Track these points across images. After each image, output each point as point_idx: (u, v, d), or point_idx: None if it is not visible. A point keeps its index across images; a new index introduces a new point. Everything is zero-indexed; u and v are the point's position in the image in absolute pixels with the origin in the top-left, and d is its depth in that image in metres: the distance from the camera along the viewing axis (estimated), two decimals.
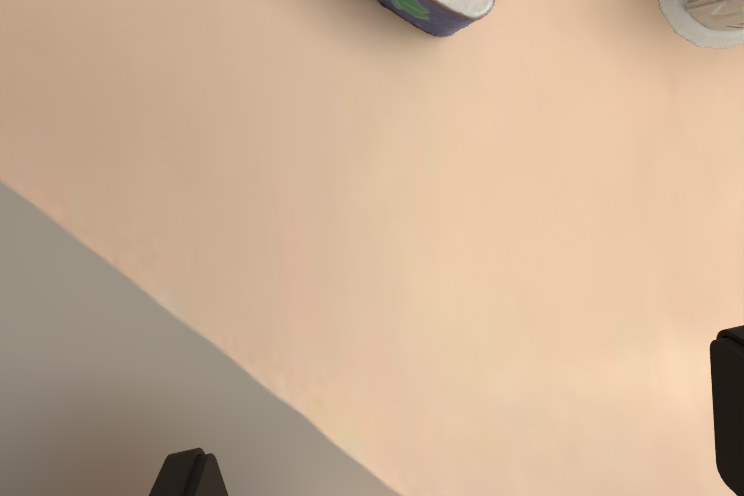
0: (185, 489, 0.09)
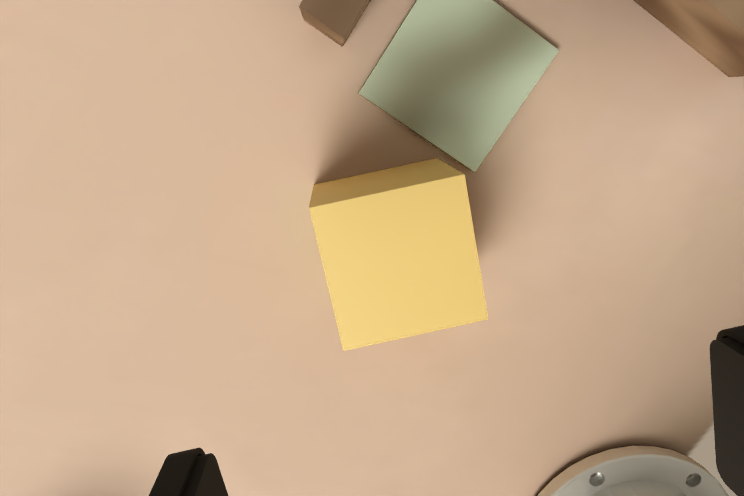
0: (185, 489, 0.09)
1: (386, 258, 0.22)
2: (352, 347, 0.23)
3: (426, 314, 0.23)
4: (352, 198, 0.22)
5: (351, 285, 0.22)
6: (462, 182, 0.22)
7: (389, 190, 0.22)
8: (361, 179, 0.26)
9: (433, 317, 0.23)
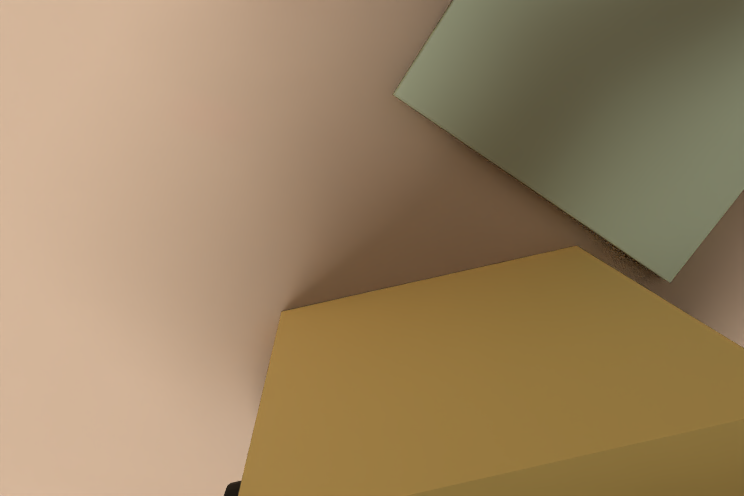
0: None
1: None
2: None
3: None
4: (396, 492, 0.06)
5: None
6: None
7: (537, 460, 0.06)
8: (401, 319, 0.10)
9: None
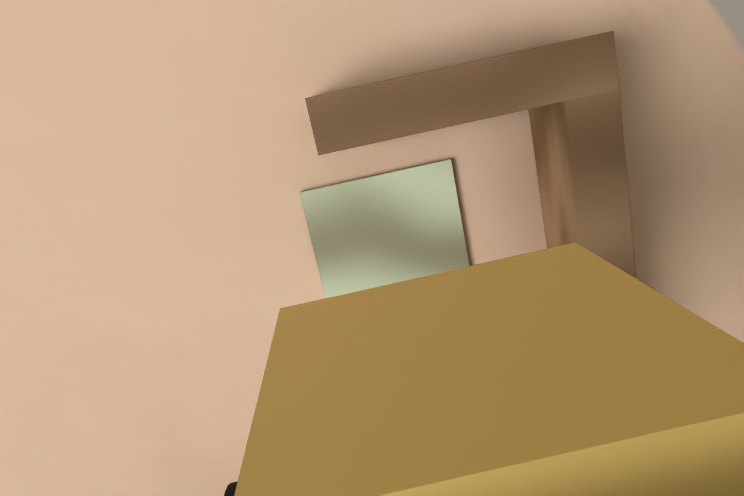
0: None
1: None
2: None
3: None
4: (394, 486, 0.06)
5: None
6: None
7: (536, 454, 0.06)
8: (400, 315, 0.10)
9: None
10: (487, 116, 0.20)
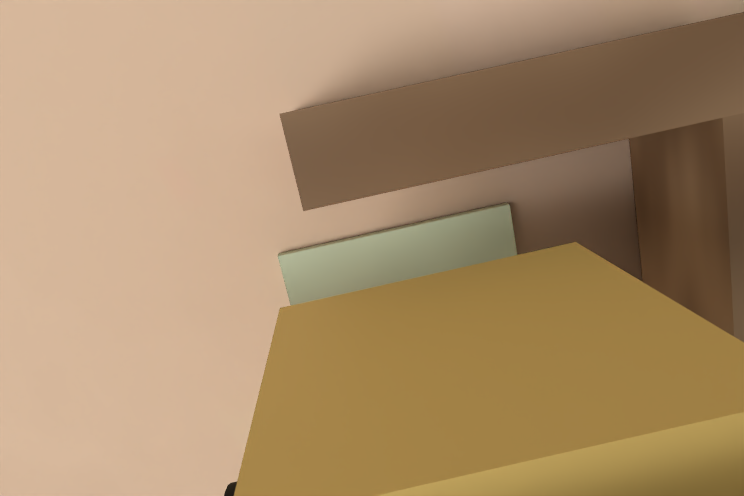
0: None
1: None
2: None
3: None
4: (394, 486, 0.06)
5: None
6: None
7: (536, 454, 0.06)
8: (400, 315, 0.10)
9: None
10: (592, 144, 0.12)
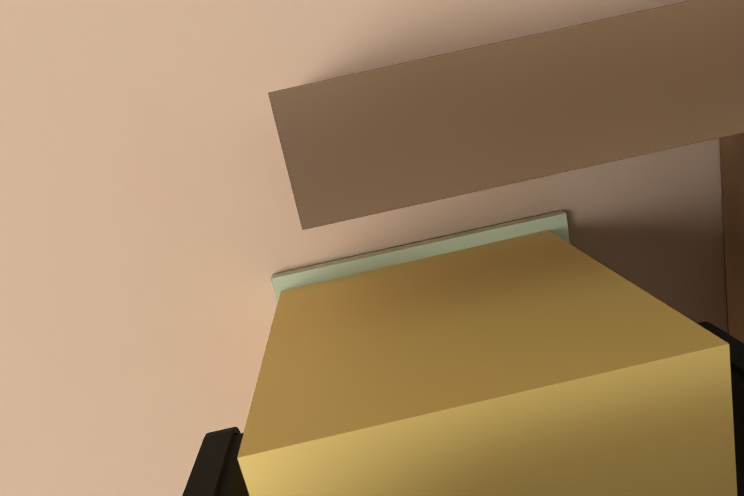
0: (226, 464, 0.09)
1: None
2: None
3: None
4: (374, 422, 0.07)
5: None
6: (719, 367, 0.07)
7: (491, 395, 0.07)
8: (387, 294, 0.11)
9: None
10: (708, 136, 0.09)
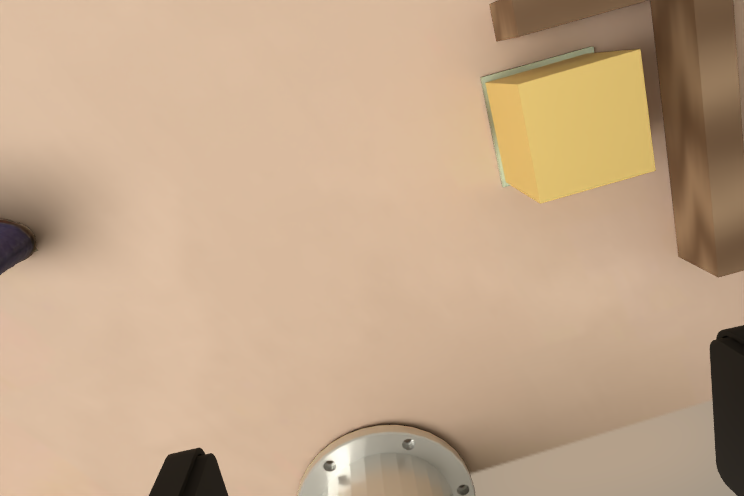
0: (185, 489, 0.09)
1: (577, 123, 0.28)
2: (547, 200, 0.29)
3: (606, 169, 0.29)
4: (551, 74, 0.27)
5: (548, 147, 0.28)
6: (638, 56, 0.27)
7: (580, 66, 0.27)
8: (532, 71, 0.31)
9: (612, 171, 0.29)
10: (637, 2, 0.29)
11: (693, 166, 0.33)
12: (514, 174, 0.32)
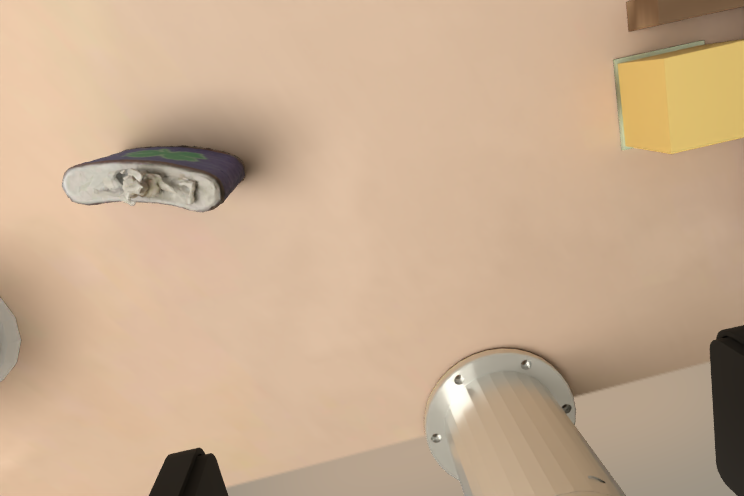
0: (185, 489, 0.09)
1: (705, 92, 0.36)
2: (677, 151, 0.37)
3: (724, 130, 0.37)
4: (689, 53, 0.36)
5: (682, 109, 0.36)
6: None
7: (711, 47, 0.36)
8: (660, 55, 0.40)
9: (728, 131, 0.37)
10: None
11: None
12: (640, 136, 0.40)
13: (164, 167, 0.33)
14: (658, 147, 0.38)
